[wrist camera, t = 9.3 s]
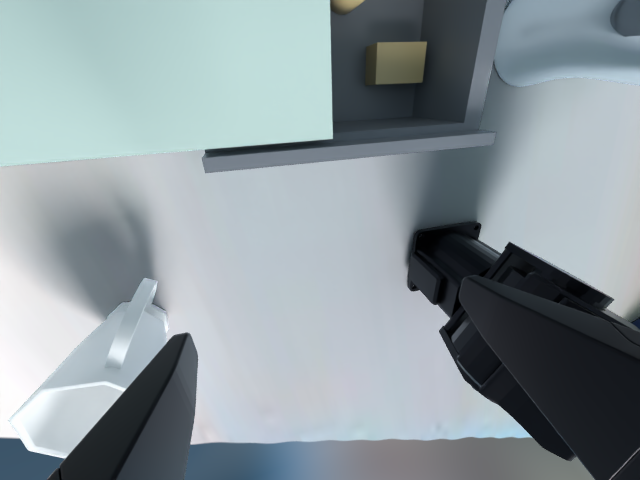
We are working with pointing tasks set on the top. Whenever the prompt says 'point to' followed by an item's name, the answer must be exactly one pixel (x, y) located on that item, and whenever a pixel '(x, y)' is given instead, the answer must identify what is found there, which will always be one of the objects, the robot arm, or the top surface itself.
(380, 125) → the tub
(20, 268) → the top surface
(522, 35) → the beer glass
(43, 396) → the cup
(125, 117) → the lid
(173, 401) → the robot arm
